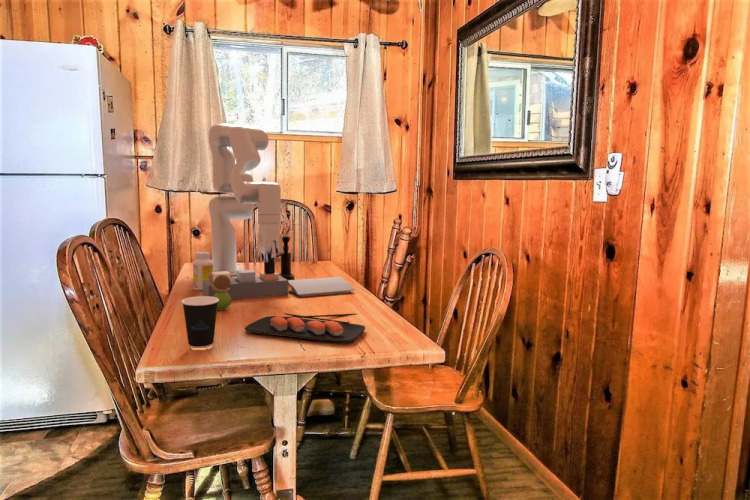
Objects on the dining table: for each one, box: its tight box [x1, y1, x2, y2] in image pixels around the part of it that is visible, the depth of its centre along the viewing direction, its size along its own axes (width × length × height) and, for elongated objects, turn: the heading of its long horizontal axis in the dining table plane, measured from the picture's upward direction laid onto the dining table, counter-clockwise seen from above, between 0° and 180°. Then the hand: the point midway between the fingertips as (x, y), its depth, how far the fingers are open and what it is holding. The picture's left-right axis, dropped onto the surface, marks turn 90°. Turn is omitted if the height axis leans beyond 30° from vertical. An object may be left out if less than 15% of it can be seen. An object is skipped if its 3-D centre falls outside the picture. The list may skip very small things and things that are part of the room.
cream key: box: [212, 271, 232, 283], centre depth 164 cm, size 5×5×4 cm
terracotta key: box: [259, 271, 280, 281], centre depth 172 cm, size 5×5×4 cm
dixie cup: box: [181, 295, 219, 348], centre depth 114 cm, size 8×8×11 cm
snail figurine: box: [208, 270, 232, 311], centre depth 147 cm, size 5×6×12 cm
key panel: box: [202, 276, 289, 301], centre depth 168 cm, size 10×26×5 cm, turn 119°
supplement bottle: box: [192, 251, 213, 291], centre depth 176 cm, size 7×7×13 cm
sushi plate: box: [244, 312, 366, 343], centre depth 135 cm, size 29×30×4 cm
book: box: [288, 276, 355, 298], centre depth 178 cm, size 15×23×4 cm, turn 117°
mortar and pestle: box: [278, 234, 295, 280], centre depth 193 cm, size 7×6×18 cm
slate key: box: [235, 269, 256, 282], centre depth 168 cm, size 5×5×4 cm
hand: (269, 273), depth 171 cm, fingers closed
